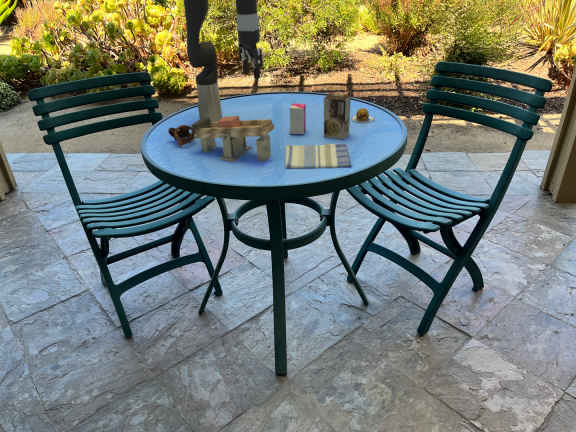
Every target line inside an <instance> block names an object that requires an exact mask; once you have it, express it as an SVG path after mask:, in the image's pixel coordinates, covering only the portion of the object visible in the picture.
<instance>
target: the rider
mask: <svg viewBox="0 0 576 432" xmlns="http://www.w3.org/2000/svg"><path fill="white" fill-rule="evenodd" d="M240 121H241V120H240V116H239V115H231V116H224V117H222V119H221V120H219V121H218V124H219V128H223V127H241V123H240Z"/></svg>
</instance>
